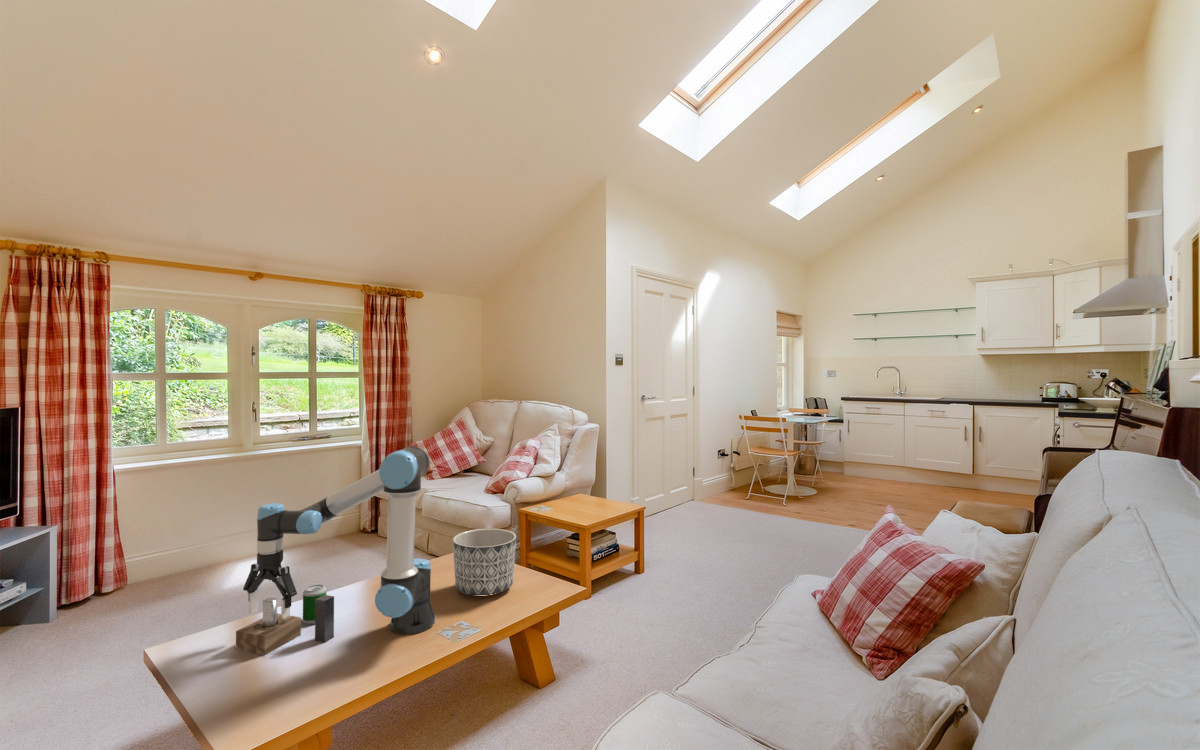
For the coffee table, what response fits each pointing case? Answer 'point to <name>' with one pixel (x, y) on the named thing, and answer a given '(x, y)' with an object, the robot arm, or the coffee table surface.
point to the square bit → (324, 618)
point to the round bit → (269, 612)
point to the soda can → (311, 602)
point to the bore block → (267, 635)
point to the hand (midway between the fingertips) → (269, 614)
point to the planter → (484, 561)
